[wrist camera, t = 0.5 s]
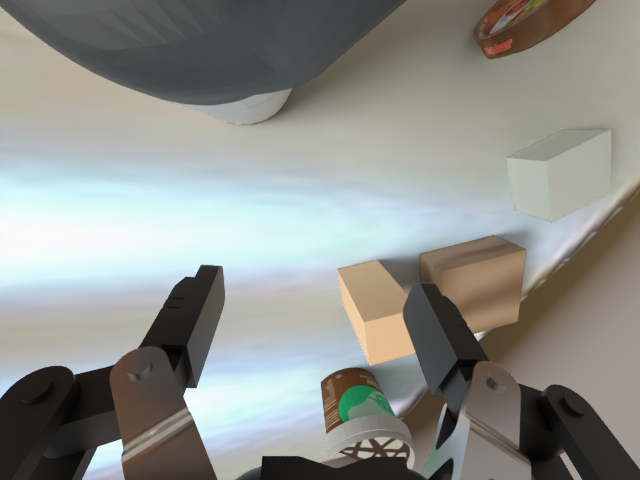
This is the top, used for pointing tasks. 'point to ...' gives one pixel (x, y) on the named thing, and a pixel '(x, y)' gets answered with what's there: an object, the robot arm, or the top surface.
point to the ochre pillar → (375, 311)
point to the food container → (362, 418)
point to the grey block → (561, 173)
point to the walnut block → (478, 279)
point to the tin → (524, 24)
